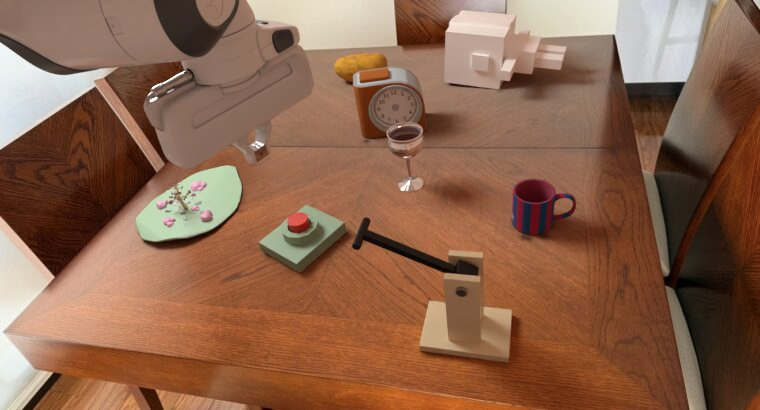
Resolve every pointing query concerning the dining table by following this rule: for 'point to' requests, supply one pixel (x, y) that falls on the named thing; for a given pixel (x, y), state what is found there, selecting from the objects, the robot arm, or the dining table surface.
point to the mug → (536, 206)
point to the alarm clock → (387, 100)
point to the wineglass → (406, 150)
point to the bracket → (466, 317)
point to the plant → (191, 206)
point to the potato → (358, 64)
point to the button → (298, 222)
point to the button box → (303, 239)
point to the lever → (410, 252)
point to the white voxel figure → (493, 50)
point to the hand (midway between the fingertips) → (259, 158)
